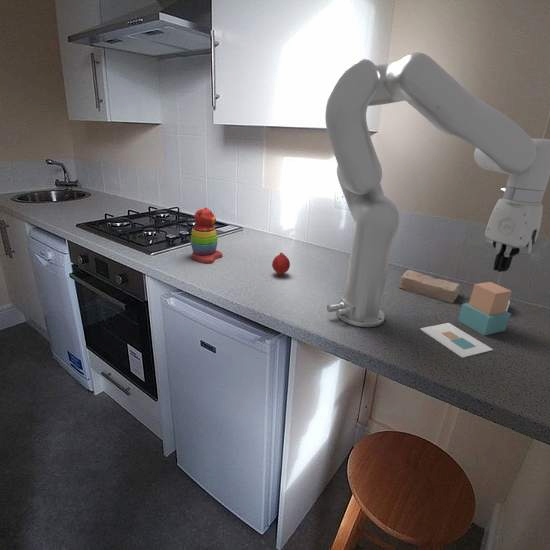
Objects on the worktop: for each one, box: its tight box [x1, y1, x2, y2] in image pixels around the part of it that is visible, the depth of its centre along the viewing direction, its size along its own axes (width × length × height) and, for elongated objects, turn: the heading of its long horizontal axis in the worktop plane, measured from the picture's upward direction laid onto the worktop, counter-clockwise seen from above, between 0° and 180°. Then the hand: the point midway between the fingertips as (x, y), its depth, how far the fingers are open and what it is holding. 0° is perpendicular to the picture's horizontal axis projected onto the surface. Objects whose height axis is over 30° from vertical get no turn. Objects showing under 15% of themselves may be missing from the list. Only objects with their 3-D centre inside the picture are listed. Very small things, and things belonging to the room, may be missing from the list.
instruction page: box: [419, 322, 494, 359], centre depth 88 cm, size 10×13×1 cm
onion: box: [271, 251, 291, 276], centre depth 118 cm, size 6×6×8 cm
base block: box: [457, 302, 512, 336], centre depth 95 cm, size 8×8×5 cm
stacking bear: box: [190, 207, 224, 265], centre depth 127 cm, size 11×10×18 cm
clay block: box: [468, 281, 513, 315], centre depth 93 cm, size 6×6×6 cm
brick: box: [399, 269, 460, 304], centre depth 114 cm, size 17×8×5 cm, turn 56°
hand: (500, 270), depth 90 cm, fingers closed
